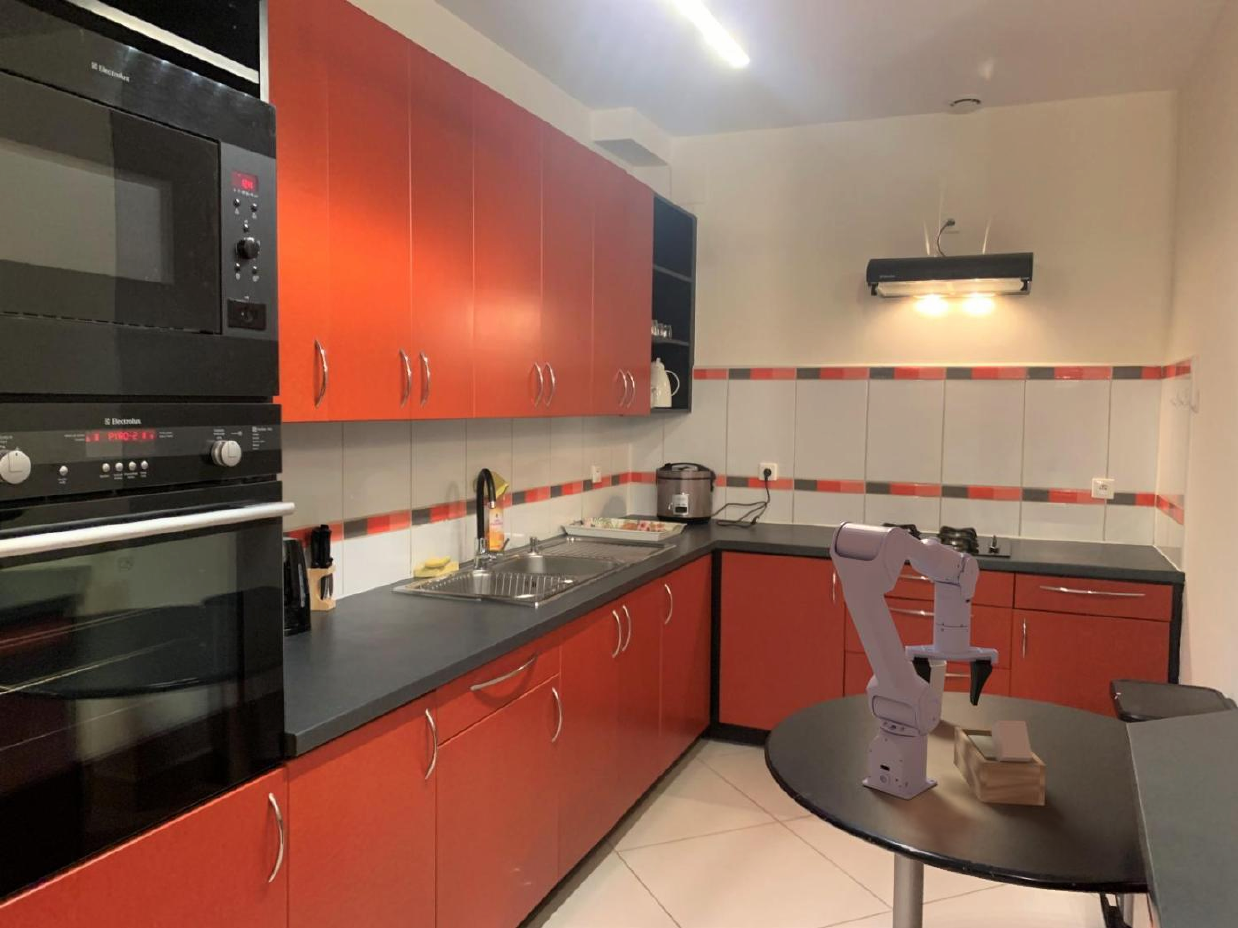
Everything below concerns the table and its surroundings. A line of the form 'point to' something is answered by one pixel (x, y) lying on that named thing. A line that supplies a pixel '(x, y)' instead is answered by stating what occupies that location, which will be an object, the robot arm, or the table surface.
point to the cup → (935, 676)
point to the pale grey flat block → (985, 746)
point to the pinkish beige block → (1011, 741)
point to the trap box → (998, 773)
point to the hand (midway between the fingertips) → (949, 702)
